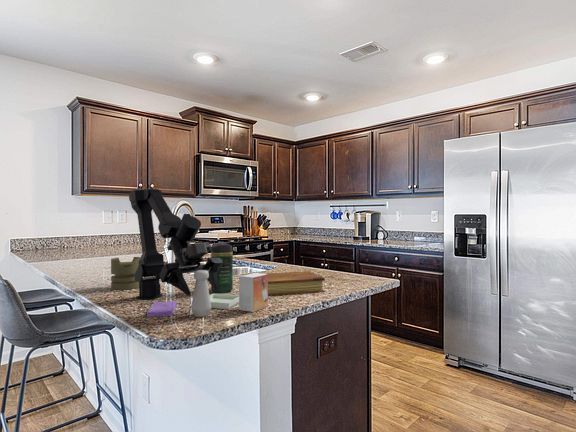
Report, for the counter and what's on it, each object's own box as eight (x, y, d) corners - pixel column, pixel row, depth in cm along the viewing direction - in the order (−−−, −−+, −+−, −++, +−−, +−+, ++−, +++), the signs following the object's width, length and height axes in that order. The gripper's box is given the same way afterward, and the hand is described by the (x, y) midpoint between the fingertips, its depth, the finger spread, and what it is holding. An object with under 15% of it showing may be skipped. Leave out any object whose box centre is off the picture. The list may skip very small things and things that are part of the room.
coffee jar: (235, 292, 137) (234, 243, 137) (214, 294, 134) (213, 243, 134) (229, 287, 146) (229, 241, 146) (209, 289, 143) (209, 242, 143)
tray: (195, 306, 115) (195, 301, 115) (213, 298, 126) (213, 293, 126) (228, 309, 112) (228, 303, 112) (243, 300, 123) (243, 295, 123)
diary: (308, 284, 155) (308, 270, 155) (324, 293, 137) (324, 278, 137) (255, 287, 149) (255, 273, 149) (265, 296, 131) (265, 280, 131)
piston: (142, 259, 144) (110, 260, 139) (142, 289, 144) (110, 292, 139) (140, 256, 154) (111, 257, 149) (141, 284, 154) (111, 286, 149)
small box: (253, 312, 108) (252, 277, 108) (238, 310, 111) (238, 275, 111) (268, 306, 114) (268, 273, 114) (254, 304, 117) (254, 272, 117)
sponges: (146, 318, 104) (146, 312, 104) (154, 307, 117) (154, 301, 117) (172, 317, 106) (172, 310, 106) (176, 306, 118) (176, 300, 118)
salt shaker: (193, 319, 102) (193, 272, 101) (189, 314, 107) (188, 270, 107) (214, 316, 104) (213, 271, 104) (208, 311, 109) (208, 268, 109)
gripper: (163, 234, 102) (184, 278, 94) (219, 232, 115) (241, 270, 107) (151, 260, 107) (169, 304, 99) (205, 255, 120) (225, 293, 113)
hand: (203, 291), depth 105 cm, fingers open, 9 cm apart
